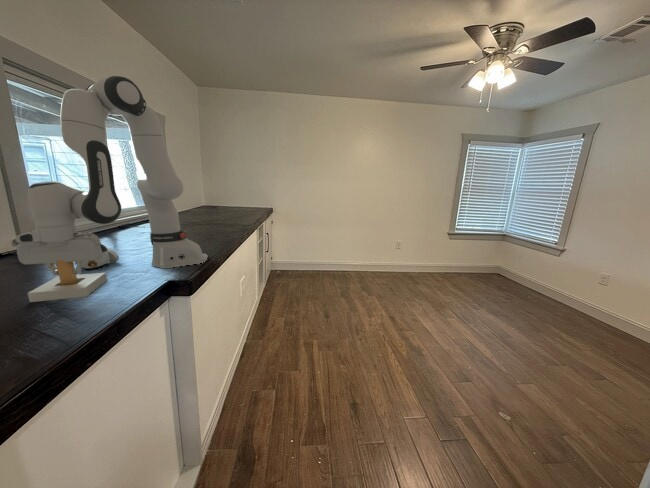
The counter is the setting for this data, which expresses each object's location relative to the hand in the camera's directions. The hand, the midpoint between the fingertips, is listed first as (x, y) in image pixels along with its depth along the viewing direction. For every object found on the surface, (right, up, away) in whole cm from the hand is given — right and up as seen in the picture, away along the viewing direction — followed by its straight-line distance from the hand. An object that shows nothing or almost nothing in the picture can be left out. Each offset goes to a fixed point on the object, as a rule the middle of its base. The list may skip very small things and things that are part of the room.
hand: (67, 274), depth 85 cm
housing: (0, -6, +2) cm, 6 cm away
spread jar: (-11, 0, +25) cm, 27 cm away
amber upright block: (0, -4, +1) cm, 4 cm away
